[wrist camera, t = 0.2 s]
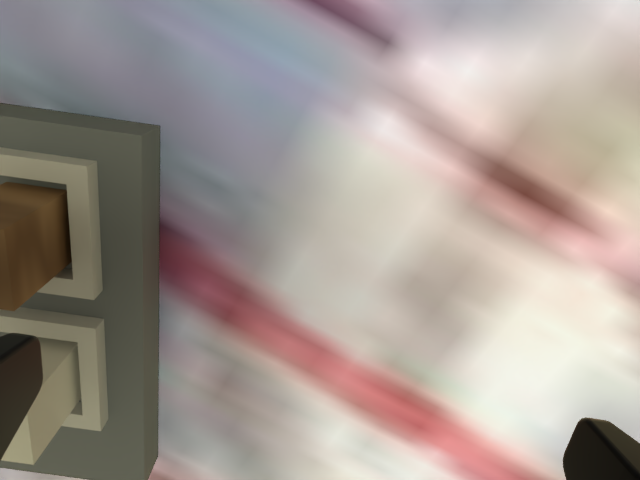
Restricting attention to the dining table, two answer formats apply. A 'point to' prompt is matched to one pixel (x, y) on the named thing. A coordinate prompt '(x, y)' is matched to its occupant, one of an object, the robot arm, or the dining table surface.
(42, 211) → the walnut knob
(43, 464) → the panel
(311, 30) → the dining table surface
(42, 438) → the offwhite knob
